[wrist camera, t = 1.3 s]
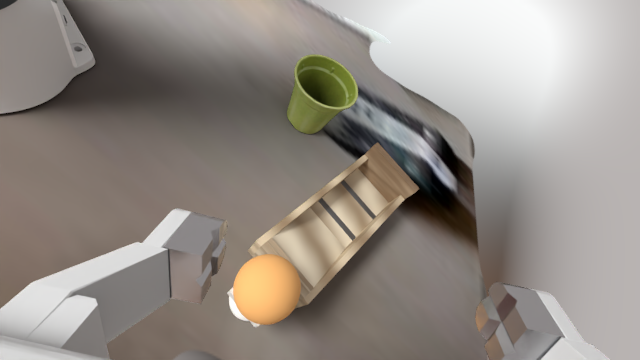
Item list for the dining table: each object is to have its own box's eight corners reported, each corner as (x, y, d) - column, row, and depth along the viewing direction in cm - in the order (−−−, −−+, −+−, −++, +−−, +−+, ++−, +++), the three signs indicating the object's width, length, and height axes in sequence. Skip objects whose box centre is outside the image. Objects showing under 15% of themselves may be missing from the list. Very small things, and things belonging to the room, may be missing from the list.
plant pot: (331, 150, 49) (359, 117, 42) (272, 134, 46) (292, 95, 39) (332, 105, 53) (357, 68, 47) (279, 87, 50) (297, 44, 43)
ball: (219, 274, 30) (230, 260, 25) (276, 254, 33) (295, 237, 28) (240, 338, 28) (255, 335, 24) (297, 310, 32) (321, 303, 27)
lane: (294, 308, 36) (317, 301, 31) (247, 251, 37) (261, 234, 32) (391, 206, 49) (419, 188, 44) (354, 164, 50) (377, 142, 44)
